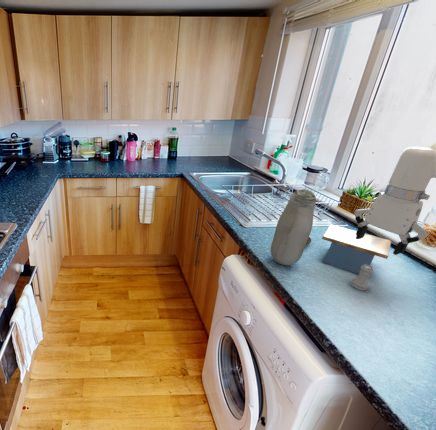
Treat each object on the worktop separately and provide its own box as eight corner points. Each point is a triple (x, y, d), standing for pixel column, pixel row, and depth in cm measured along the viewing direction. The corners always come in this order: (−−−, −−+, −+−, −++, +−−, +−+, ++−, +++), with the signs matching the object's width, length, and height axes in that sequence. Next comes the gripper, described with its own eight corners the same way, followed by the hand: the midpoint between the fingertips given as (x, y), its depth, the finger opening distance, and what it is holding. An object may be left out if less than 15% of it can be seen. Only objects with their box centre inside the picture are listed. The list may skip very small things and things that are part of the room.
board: (389, 243, 101) (391, 240, 101) (386, 259, 92) (388, 255, 92) (329, 226, 113) (330, 224, 112) (321, 239, 104) (322, 236, 103)
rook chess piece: (354, 289, 92) (363, 269, 89) (347, 281, 96) (356, 261, 92) (370, 292, 91) (380, 271, 88) (362, 283, 95) (372, 263, 92)
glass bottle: (296, 273, 99) (322, 198, 88) (264, 262, 105) (285, 191, 93) (300, 260, 107) (325, 190, 95) (270, 251, 112) (290, 183, 100)
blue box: (368, 262, 106) (378, 241, 103) (364, 276, 99) (375, 254, 95) (330, 250, 114) (338, 230, 110) (324, 262, 106) (332, 241, 102)
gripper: (451, 202, 74) (419, 257, 81) (373, 182, 88) (352, 230, 95) (438, 206, 71) (406, 263, 78) (360, 184, 85) (339, 235, 92)
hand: (377, 245), depth 87 cm, fingers open, 9 cm apart
